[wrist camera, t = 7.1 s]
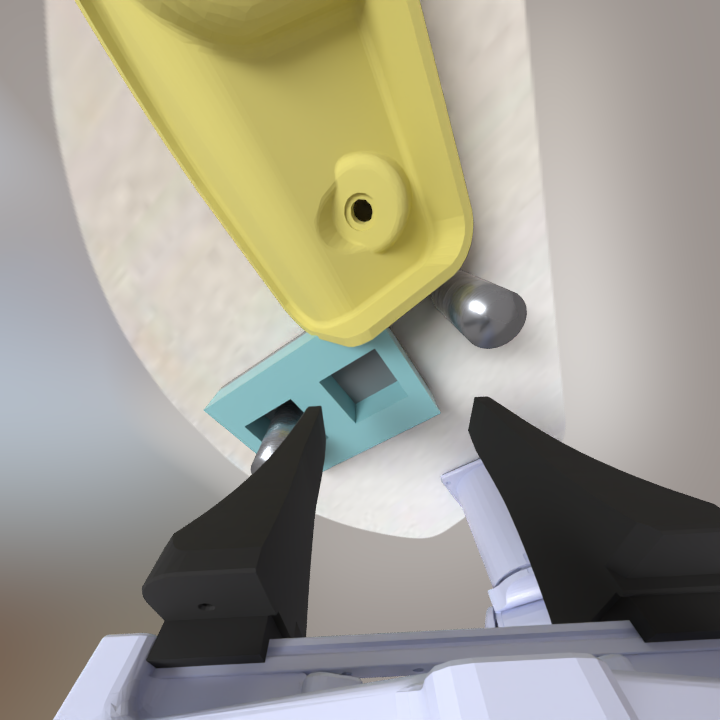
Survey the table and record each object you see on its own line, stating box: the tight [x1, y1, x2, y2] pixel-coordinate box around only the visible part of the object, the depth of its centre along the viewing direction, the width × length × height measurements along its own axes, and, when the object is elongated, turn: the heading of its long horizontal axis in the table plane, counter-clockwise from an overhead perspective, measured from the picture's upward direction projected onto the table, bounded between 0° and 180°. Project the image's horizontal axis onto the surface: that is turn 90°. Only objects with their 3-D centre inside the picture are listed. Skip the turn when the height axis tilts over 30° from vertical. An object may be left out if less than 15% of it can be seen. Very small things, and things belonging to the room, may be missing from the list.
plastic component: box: [75, 0, 473, 347], centre depth 11 cm, size 20×7×10 cm
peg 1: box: [251, 399, 304, 474], centre depth 19 cm, size 3×3×6 cm
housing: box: [204, 327, 440, 471], centre depth 20 cm, size 10×14×3 cm
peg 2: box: [432, 270, 527, 349], centre depth 15 cm, size 3×3×6 cm
